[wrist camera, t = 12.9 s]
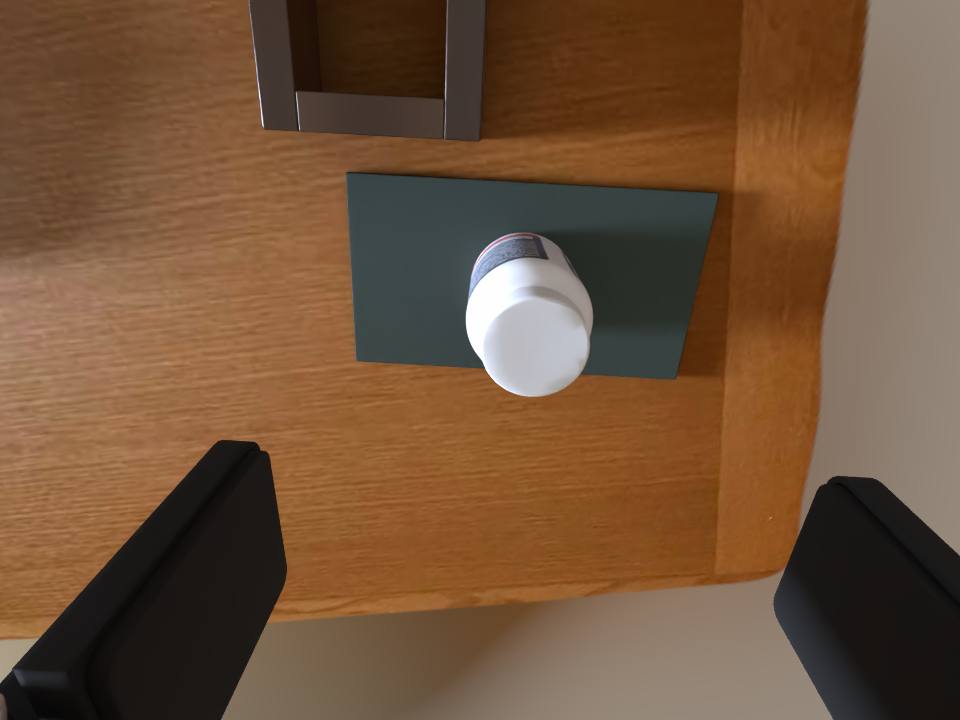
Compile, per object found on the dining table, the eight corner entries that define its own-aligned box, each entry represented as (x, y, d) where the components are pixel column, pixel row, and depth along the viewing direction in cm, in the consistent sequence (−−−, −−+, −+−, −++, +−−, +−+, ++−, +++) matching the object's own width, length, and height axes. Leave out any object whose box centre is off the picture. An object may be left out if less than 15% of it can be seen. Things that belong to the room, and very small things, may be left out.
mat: (716, 192, 25) (719, 193, 24) (673, 376, 29) (675, 379, 28) (347, 172, 25) (345, 172, 24) (357, 358, 29) (355, 361, 28)
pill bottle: (453, 299, 27) (434, 371, 19) (503, 211, 25) (507, 248, 17) (538, 346, 28) (555, 433, 20) (592, 264, 26) (637, 324, 18)
